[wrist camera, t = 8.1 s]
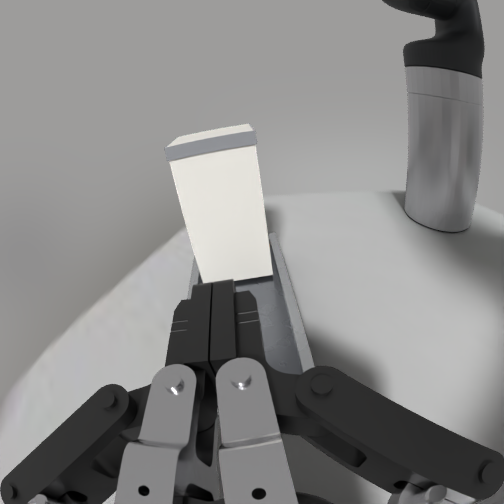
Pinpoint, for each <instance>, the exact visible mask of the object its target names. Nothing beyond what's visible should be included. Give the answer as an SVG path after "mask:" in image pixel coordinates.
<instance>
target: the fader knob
mask: <svg viewBox="0 0 504 504" xmlns="http://www.w3.org/2000/svg"><path fill="white" fill-rule="evenodd" d="M255 144H257V139H256V133H255V130H254V128H253V127H252V125H251V124H250V123H249V124H243V125H236V126H230V127H224V128H219V129H213V130H208V131H203V132H198V133H193V134H189V135H185V136H180V137H177V138H175V139H174V140H173V141H172V142H171V143H170V144H168V145H167V146H166V147H165V148H164V150H165V154H166V158H167V161H169V162H170V166H171V170H172V174H173V178H174V182H175V186H176V189H177V194H178V197H179V201H180V205H181V208H182V212H183V216H184V219H185V223H186V227H187V231H188V234H189V238H190V241H191V244H192V248H193V251H194V255H195V258H196V261H197V265H198V268H199V271H200V275H201V278H202V281H203V283H209V282H215V281H222V280H228V279H234V281H237V280H243V279H250V278H256V277H262V276H268V275H273V271H272V263H271V255H270V247H269V239H268V232H267V224H266V217H265V209H264V202H263V194H262V187H261V181H260V173H259V166H258V159H257V152H256V146H255Z"/></svg>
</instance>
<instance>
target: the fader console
mask: <svg viewBox="0 0 504 504" xmlns="http://www.w3.org/2000/svg"><path fill="white" fill-rule="evenodd" d="M268 235H269V247H270V255H271V263H272V271H273V275H268V276H262V277H256V278H250V279H243V280H237V281H234V283H235V287H236V291H237V292H241V291H248V290H249V291H250V292H251V293H252V294H253V296H254V297H255V298H256V301H257V306H258V312H259V317H260V323H261V329H262V336H263V343H264V350H265V357H266V361H267V363H268V364H269V365H270V366H271V367H272V368H274V369H275V370H277V371H280V372H283V373H288V374H298V375H301V374H302V373H304V372H305V371H306V370H308V369H310V368H313V367H315V366H314V362H313V358H312V355H311V351H310V348H309V344H308V341H307V337H306V333H305V330H304V326H303V323H302V320H301V316H300V313H299V309H298V306H297V302H296V299H295V296H294V292H293V289H292V286H291V282H290V279H289V276H288V272H287V269H286V266H285V262H284V259H283V256H282V253H281V249H280V246H279V243H278V240H277V237H276V233H275V232H274V233H268ZM202 283H203V281H202V278H201V275H200V271H199V268H198V265H197V261H196V258H195V255H194V261H193V267H192V273H191V279H190V285H189V291H188V298H187V299H191V293H192V287H193V285H196V284H202ZM217 407H218V400H217Z"/></svg>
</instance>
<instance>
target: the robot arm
mask: <svg viewBox="0 0 504 504" xmlns="http://www.w3.org/2000/svg"><path fill="white" fill-rule="evenodd" d="M382 1H384V2H385V3H386V4H388V5H389V6H391V7H393V8H395V9H398V10H401V11H404V12H407V13H411V14H416V15H420V16H425V17H429V18H433V19H435V27H436V34H435V36H434V37H433V38H430V39H425V40H418V41H413V42H410V43H408V44H406V45H405V46H404V49H403V56H404V63H405V72H406V83H407V92H408V93H407V96H408V125H409V126H408V131H409V132H408V135H409V137H408V141H409V142H408V171H407V184H406V196H405V211H406V213H407V214H408V215H409V216H410V217H411V218H412V219H413V220H415V221H417V222H418V223H420V224H422V225H425V226H427V227H430V228H433V229H436V230H441V231H449V232H458V231H463V230H465V229H467V228H468V227H469V226H470V224H471V220H472V215H473V210H474V205H475V199H476V194H477V188H478V181H479V174H480V165H481V154H482V142H483V84H482V70H481V69H482V62H483V57H484V38H483V31H482V24H481V19H480V13H479V8H478V3H477V0H382ZM217 400H218V410H219V415H218V413H217ZM219 419H220V428H221V437H222V444H221V446H220V448H219V464H220V472H221V479H222V486H223V493H224V499H220V500H219V496H220V480H219V475H218V472H217V449H218V433H219ZM280 433H285V434H292V435H300V436H301V437H302V438H304V439H305V440H306V441H308V442H309V443H311V444H312V445H313V446H315V447H316V448H318V449H319V450H321V451H322V452H323V453H325V454H326V455H328V456H329V457H331V458H332V459H334V460H335V461H337V462H338V463H340V464H342V465H343V466H345V467H346V468H348V469H349V470H351V471H353V472H354V473H356V474H358V475H359V476H361V477H363V478H364V479H366V480H368V481H369V482H371V483H373V484H375V485H377V486H378V487H380V488H382V489H384V490H386V491H387V492H389V493H391V494H392V495H391V497H390V498H389V500H388V503H387V504H474V503H475V502H478V501H481V500H483V499H486V498H489V497H490V496H492V495H493V494H495V493H496V492H497V491H498V490H499V488H500V487H501V485H502V484H503V481H504V457H503V456H502V455H501V454H500V453H498V452H496V451H494V450H492V449H489V448H487V447H485V446H482V445H480V444H478V443H475V442H473V441H471V440H469V439H467V438H465V437H462V436H460V435H458V434H456V433H454V432H452V431H450V430H448V429H446V428H444V427H441V426H439V425H437V424H435V423H433V422H431V421H429V420H427V419H425V418H424V417H422V416H420V415H418V414H416V413H414V412H412V411H410V410H408V409H406V408H404V407H403V406H401V405H399V404H397V403H395V402H393V401H391V400H390V399H388V398H386V397H384V396H382V395H381V394H379V393H377V392H375V391H373V390H372V389H370V388H368V387H366V386H365V385H363V384H361V383H359V382H358V381H356V380H354V379H352V378H351V377H349V376H347V375H346V374H344V373H342V372H341V371H339V370H337V369H335V368H333V367H329V366H317V367H313V368H310V369H308V370H306V371H305V372H304V373H302V374H301V375H298V374H288V373H283V372H280V371H277V370H275V369H274V368H272V367H271V366H270V365H269V364H268V363H267V361H266V357H265V350H264V343H263V336H262V329H261V323H260V317H259V312H258V306H257V301H256V298H255V297H254V296H253V294H252V293H251V292H250V291H249V290H248V291H241V292H237V291H236V287H235V283H234V279H228V280H222V281H215V282H209V283H202V284H196V285H193V287H192V293H191V299H187V300H181V302H180V303H179V305H178V306H177V308H176V309H175V311H174V316H173V323H172V327H171V333H170V338H169V344H168V350H167V356H166V363H165V367H164V368H162V369H161V370H160V371H159V372H158V373H157V374H156V375H155V376H154V378H153V381H152V384H150V385H148V386H145V387H142V388H139V389H136V390H133V391H129V392H127V391H126V390H125V389H124V388H123V387H122V386H120V385H117V384H109V385H106V386H104V387H102V388H100V389H99V390H98V391H97V392H96V393H95V394H94V395H93V396H91V397H90V398H89V399H88V400H87V401H86V402H85V403H84V404H83V405H82V406H81V407H80V408H79V409H77V410H76V411H75V412H74V413H73V414H72V415H71V416H70V417H69V418H68V419H67V420H66V421H65V422H63V423H62V424H61V425H60V426H59V427H58V428H57V429H56V430H55V431H54V432H53V433H52V434H51V435H50V436H48V437H47V438H46V439H45V440H44V441H43V442H42V443H41V444H40V445H39V446H38V447H37V448H36V449H35V450H33V451H32V452H31V453H30V454H29V455H28V456H27V457H26V458H25V459H24V460H23V461H22V462H21V463H20V464H18V465H17V466H16V467H15V468H14V469H13V470H12V471H11V472H10V473H9V474H8V475H7V476H6V477H5V478H4V479H3V480H2V483H1V487H0V492H1V497H2V500H3V502H4V504H102V503H103V502H104V501H106V500H107V499H108V498H109V497H110V496H111V495H112V494H113V493H114V492H115V491H116V496H115V503H114V504H333V503H331V502H329V501H327V500H325V499H323V498H320V497H317V496H314V495H310V494H306V493H299V492H295V489H294V485H293V481H292V477H291V473H290V469H289V466H288V462H287V458H286V453H285V449H284V445H283V442H282V438H281V435H280Z"/></svg>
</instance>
